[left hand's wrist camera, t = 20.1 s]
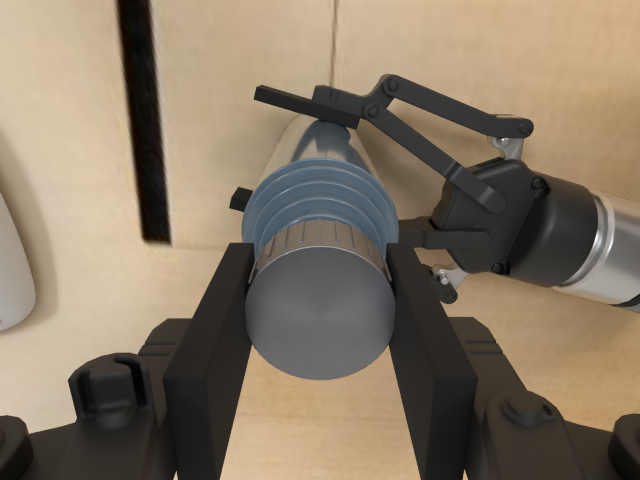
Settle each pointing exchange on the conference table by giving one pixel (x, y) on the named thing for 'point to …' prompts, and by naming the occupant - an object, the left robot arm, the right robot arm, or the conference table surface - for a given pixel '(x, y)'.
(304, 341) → the cap
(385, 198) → the bottle
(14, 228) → the projector
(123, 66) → the conference table surface
